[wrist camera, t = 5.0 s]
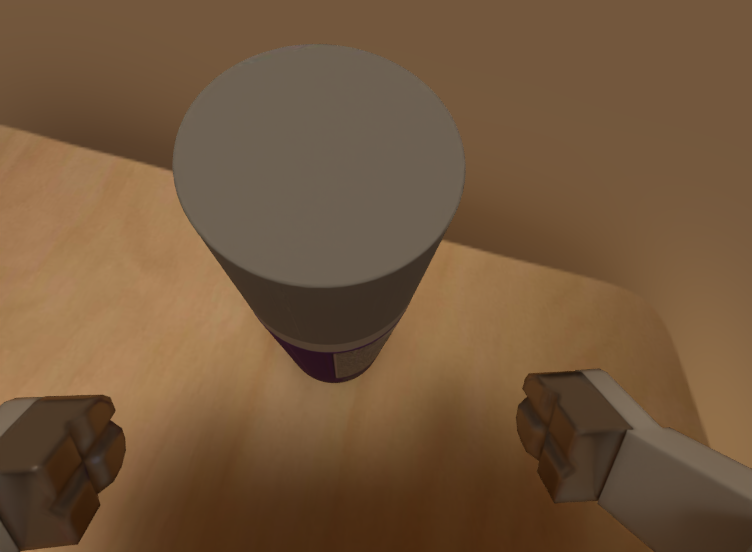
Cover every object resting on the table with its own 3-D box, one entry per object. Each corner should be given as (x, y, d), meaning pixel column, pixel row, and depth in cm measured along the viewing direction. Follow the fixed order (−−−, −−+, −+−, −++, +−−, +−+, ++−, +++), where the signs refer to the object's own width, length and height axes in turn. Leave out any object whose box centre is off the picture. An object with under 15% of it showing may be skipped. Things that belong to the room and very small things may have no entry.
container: (271, 328, 20) (102, 116, 6) (344, 277, 21) (353, 1, 7) (325, 403, 19) (281, 369, 5) (398, 344, 20) (535, 180, 6)
